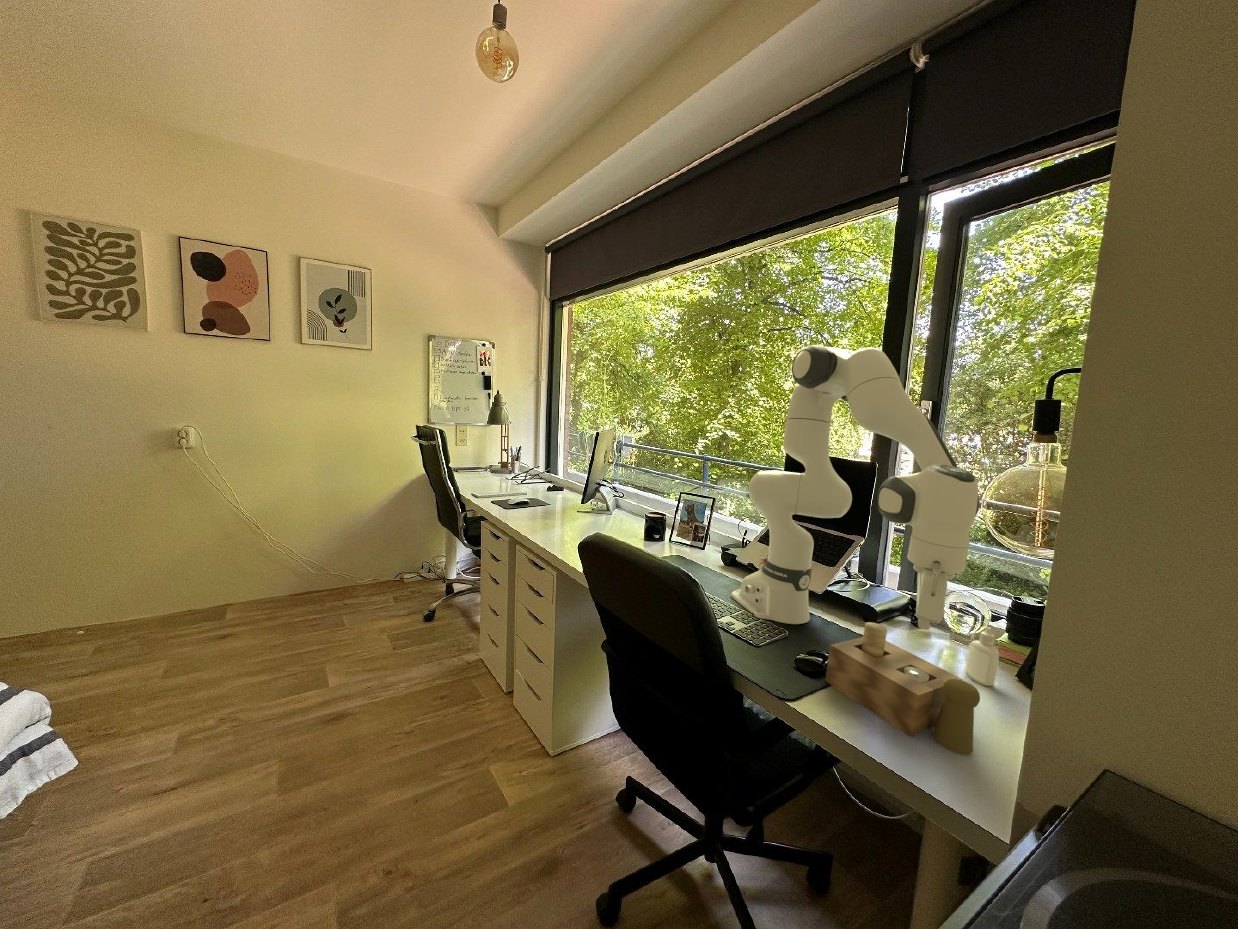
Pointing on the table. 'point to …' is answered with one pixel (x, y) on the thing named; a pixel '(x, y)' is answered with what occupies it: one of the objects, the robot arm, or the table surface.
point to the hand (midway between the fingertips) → (923, 626)
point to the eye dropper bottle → (983, 659)
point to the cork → (956, 717)
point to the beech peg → (874, 639)
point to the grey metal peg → (916, 674)
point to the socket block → (888, 684)
